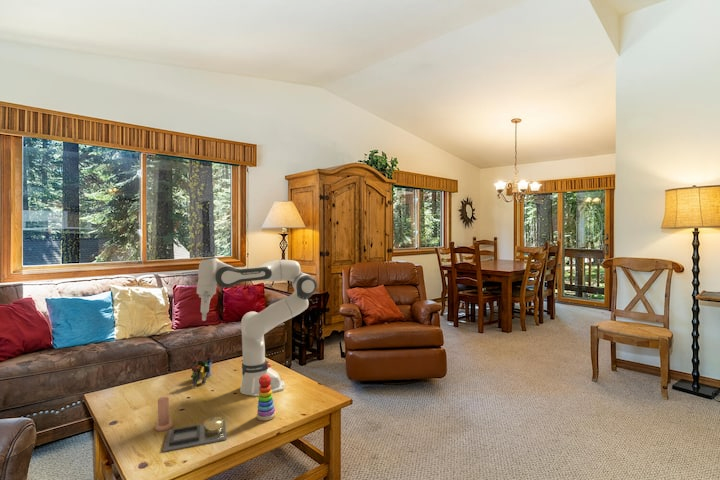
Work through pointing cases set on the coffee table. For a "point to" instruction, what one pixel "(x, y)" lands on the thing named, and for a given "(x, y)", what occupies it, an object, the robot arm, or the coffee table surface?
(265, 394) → the stacking toy
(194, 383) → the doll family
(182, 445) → the carrier plate
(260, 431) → the coffee table surface
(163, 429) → the pink peg on base
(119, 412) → the coffee table surface
